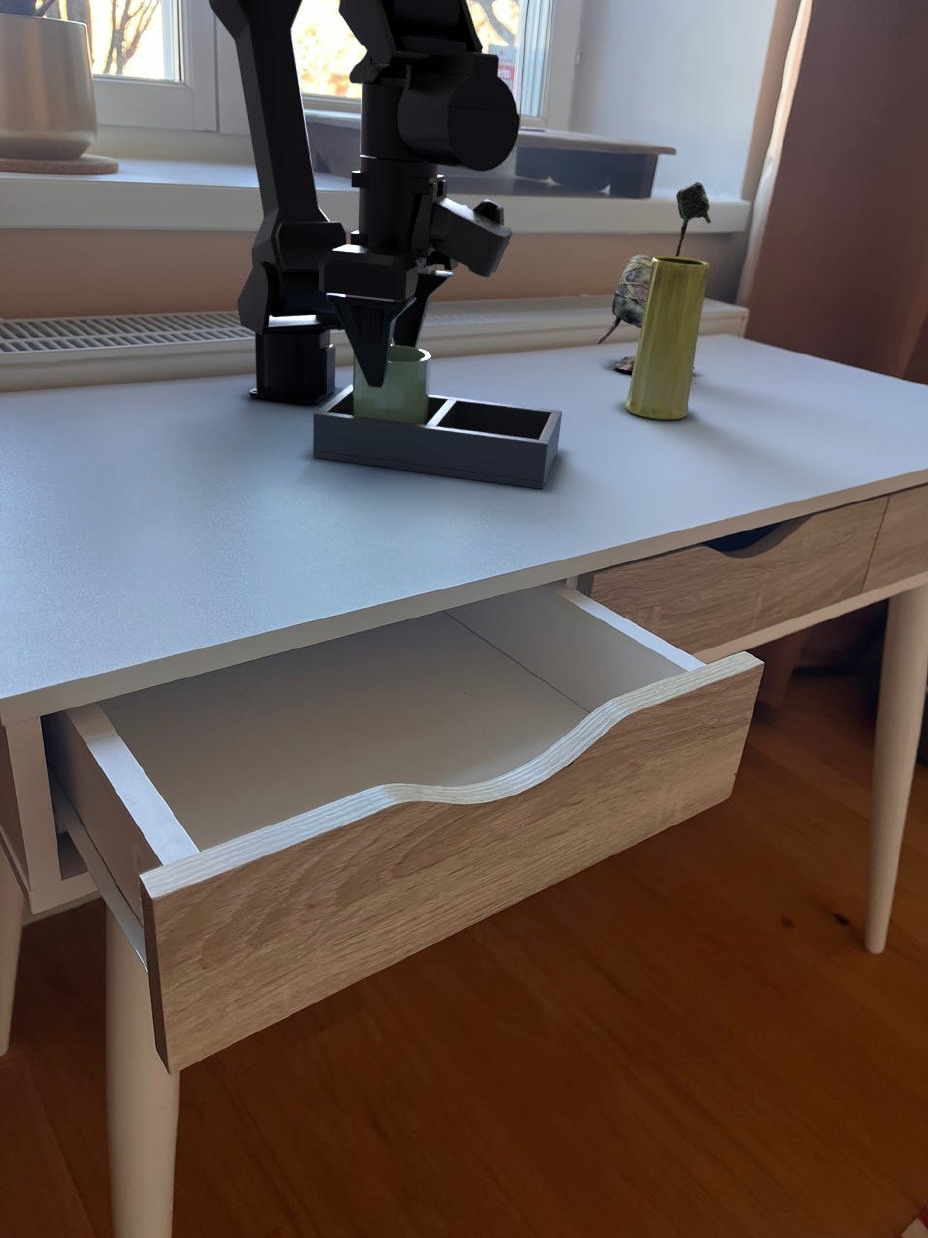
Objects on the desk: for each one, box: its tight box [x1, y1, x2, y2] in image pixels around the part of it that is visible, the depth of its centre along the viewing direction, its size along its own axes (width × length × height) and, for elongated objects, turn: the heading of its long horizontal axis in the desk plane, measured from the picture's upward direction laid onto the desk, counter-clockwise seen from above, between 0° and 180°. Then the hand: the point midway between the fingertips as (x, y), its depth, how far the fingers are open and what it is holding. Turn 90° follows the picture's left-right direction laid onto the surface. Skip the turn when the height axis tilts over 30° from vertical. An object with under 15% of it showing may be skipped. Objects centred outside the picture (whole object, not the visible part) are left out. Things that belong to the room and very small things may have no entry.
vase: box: [624, 255, 710, 421], centre depth 95 cm, size 6×6×14 cm
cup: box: [352, 344, 432, 425], centre depth 81 cm, size 6×6×7 cm
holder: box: [312, 384, 563, 490], centre depth 81 cm, size 10×18×4 cm, turn 78°
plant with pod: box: [596, 181, 712, 372], centre depth 110 cm, size 8×11×20 cm
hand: (391, 373), depth 80 cm, fingers open, 9 cm apart
